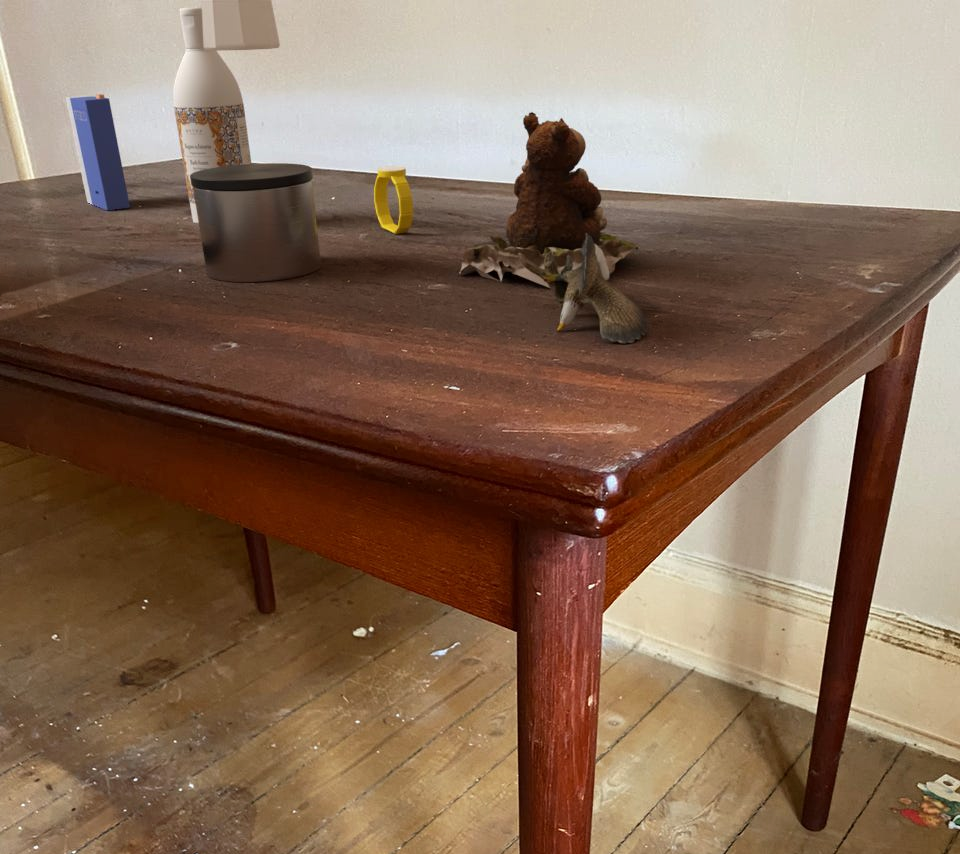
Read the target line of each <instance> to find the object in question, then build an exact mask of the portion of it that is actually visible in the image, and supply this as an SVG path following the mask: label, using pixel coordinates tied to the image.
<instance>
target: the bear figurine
mask: <svg viewBox="0 0 960 854" xmlns="http://www.w3.org/2000/svg"><path fill="white" fill-rule="evenodd" d="M522 124H523V128H524V129H525V130H526V132H527V135H528V138H527V141H526V144H525V150H526V160H525V161H524V164H523V165H522V166H521V171H522V172H521V173H520V174H519V175H518V176H517V177H516V178H515V180H514V185H513V193H514V195H515V196H516V198H517V202H516V205H515V212H513V213H512V214H510V215H509V217H508V219H507V222H506V233H505V235H506V239H507V241H506V240H505V239H503V238H502V236H500V235H499V234H491V235H489V239H490V240H491V241H492V242H493V243H494V244H493V245H492V244H481V245H478V246H475V247H471V248H468V249H466V250H465V251H464V252H463V253H462V255H461V257H462V258H463V259H464V260H465V261H462V262H461V268H460V271H459V272H458V274H460V275H461V274H462V271H463V270H464V269H465V268H471V269H474V270H475V271H476V272H477V273H478V274H479V275H480V277H483V278H486V279H490V280H493V281H496V282H499V283H501V282H502V281H503V277H504V275H505V273H506V272H507V273H508V272H509V273H510V272H511V274H512V275H517V276H519V277H521V278H524V279H526V280H529V281H531V282H534V283H536V284H539V285H541V286H544V287H546V288H549V289H551V288H550V287H549V285H548V284H547V282H544V280H543V279H542V278H540V277H539V276H538V275H536V274H534V273H532V272H530V271H529V270H528V269H526V268H525V267H524V266H523V264H522V262H521V261H520V259H519V257H518V253H522V254H523V255H524V256H526V257H527V259H528V260H529V261H530V262H532V263H534V264H535V265H537V266H538V267H540V268H542V269H544V268H545V267H544V259H545V256H546V254H547V253H549V251H552V253H553V256H554V259H555V261H556V264H557V269H558V273H559V274H561V271H562V270H563V268H564V266H565V264H566V262H567V255H569V256H570V257H572V263H573V268H572V269H571V270H575V269H576V268H578V267H579V266H581V264H582V262H583V256H582V251H581V248H583V247H582V245H583V243H584V240H585V238H586V236H585V235H586V233H587V234H588V235H589V236H591V237H592V239H593V241H594V244H596V245H597V246H598V247H599V248H600V249H601V250H602V251H603V254H604V257H605V259H606V263H607V267H608V270H609V275H611V274H612V273H613V272H614V271H615V269H616V263H617V262H619V261H620V260H624V258H625V257H626V256H627V255H628V254H630V253H631V252H632V251H633V250H636V251H638V250H639V246H638V245H637V244H635V243H634V242H630V241H627V240H624V239H620V238H618V237H617V236H616V235H611V234H608V233H605V232H601V231H603V230H605V229H606V227H607V225H608V220H607V217H606V216H605V215H603V214H604V209H603V208H602V206H600V205H601V203H602V194H601V192H600V190H599V188H598V186H595V184H594V183H593V182H591V181H590V178H589V174H588V172H587V171H586V169H584V168H581V167H578V168H576V166H578V164H579V163H580V161H581V160H582V157H583V156H584V154H585V152H586V148H587V145H586V141H585V138H584V136H583V135H582V133H580V132H579V131H578V130H576V129H574V128H573V127H569V126H570V125H568V124H567V123H566V122H565V121H564V119H563V118H562V117H560V118H559V120H555V121H551V120H546V121H544V122H543V121H542V122H541V123H540V121H539V117H538V116H537V113H535V112H532V111H531V112H528V115H524V117H523V118H522ZM575 168H576V170H575ZM492 271H495V272H497V274H498V277H499V279H497V278H495V277H494V276H492V275H490V274H489V273H490V272H492Z"/></svg>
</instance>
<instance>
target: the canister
mask: <svg viewBox="0 0 960 854" xmlns="http://www.w3.org/2000/svg"><path fill="white" fill-rule="evenodd" d="M313 178H314V173H313V168H312V167H311V166H309V165H306V164H301V163H289V162H288V163H287V162H286V163H285V162H281V163H280V162H271V163H270V162H267V163H264V162H263V163H251V164H244V165H232V166H223V167H216V168H210V169H205V170H200V171H197V172H194V173H192V174H191V175H190V180H191V185H192V187H193V191H194V197H195V203H196V209H197V216H198V222H199V223H198V227H199V233H200V240H201V247H202V252H203V258H204V265H205V272H206V275H207V276H208V277H209V278H211V279H214V280H217V281H221V282H230V283H264V282H273V281H274V282H275V281H282V280H289V279H295V278H299V277H303V276H307V275H310V274H312V273H315V272H317V271H319V270H320V268H321V267H322V262H321V261H322V260H321V251H320V241H319V240H320V239H319V233H318V232H319V231H318V222H317V213H316V203H315V194H314V184H313Z"/></svg>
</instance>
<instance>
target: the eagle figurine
mask: <svg viewBox="0 0 960 854" xmlns="http://www.w3.org/2000/svg"><path fill="white" fill-rule="evenodd" d="M585 236H586V238H585V240H584V243H583V245H582V247H583V248H581V251H582V256H583V262H582V264H581V266H579V267H578V268H576V269H575V270H571V269H572V268H573V263H572V257H570V256H569V255H567V262H566V264H565V266H564V268H563V270H562V271H561V274H559V273H558V269H557V264H556V261H555V259H554V256H553V253H552V251H549V253H547V254H546V256H545V259H544V267H545V268H544V269H542V268H540V267H538V266H537V265H535V264H534V263H532V262H530V261H529V260H528V259H527V257H526V256H524V255H523V254H522V253H518V257H519V259H520V261H521V262H522V264H523V266H524V267H525V268H526V269H528V270H529V271H530V272H532V273H534V274H536V275H538V276H539V277H540V278H542V279H543V280H544V282H547V284H548V285H549V287H550V288H549V289H551V291H552V292H553V293H554V296H555V301H556V302H557V303H558V306H559V307H561V308H562V309H561V312H560V317H559V318H560V319H559V325H558V327H557V328H556V331H557V332H561V331H562V330H563V329H565V327H567V326H569V325H571V324H572V323H573V321H574V320H575V317H576V315H577V313H578V311H579V310H580V309H581V308H582V307H584V306H586V305H587V306H591V307H593V309H594V310H595V312H596V314H597V316H598V320H599V334H600V336H601V339H603V340H608V341H610V342H612V343H616V342H617V343H620V344H623V345H624V344H628V343H629V344H632V343H634V342H635V341H636V340H637V341H638V340H640V339H642V336H646V332H648V331H649V329H648V328H649V326H648V324H649V323H648V321H647V316H645V314H644V313H643V311H642V310H641V308H640V306H639V305H637V303H636V302H635V301H634V300H633V299H631V297H629V296H628V295H627V294H625V293H624V292H623V291H620V290H619V289H617V288H616V287H615V286H613V285H612V284H610V283H609V282H608V280H609V279H610V274H609V270H608V267H607V263H606V259H605V257H604V254H603V251H602V250H601V249H600V248H599V247H598V246H597V245H596V244H594V241H593V239H592V237H591V236H589V235H588V234H587V233H586V235H585Z"/></svg>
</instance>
